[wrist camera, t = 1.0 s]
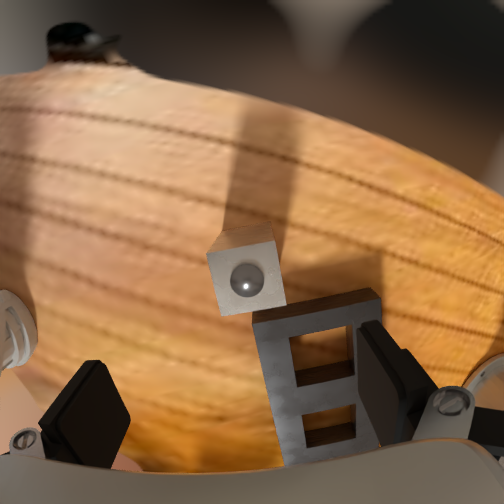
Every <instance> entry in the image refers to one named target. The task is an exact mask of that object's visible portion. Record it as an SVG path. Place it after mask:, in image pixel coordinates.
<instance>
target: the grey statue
mask: <svg viewBox="0 0 504 504" xmlns="http://www.w3.org/2000/svg"><path fill="white" fill-rule="evenodd" d="M36 345H37V329H36V326H35V323H34V320H33V318H32V316H31V314H30V312H29V310H28V308H27V307H26V306H25V304H24V303H23V302H22V301H21V300H20V299H19V298H18V297H17V296H16V295H15V294H13V293H12V292H10V291H7V290H5V289H4V290H0V375H1V371H3V370H4V369H5V368H13V367H14V366H20V365H23V364H25V363H26V362H27V361H28V359H29V358H30V357H31V356H32V354H33V352H34V350H35V348H36Z"/></svg>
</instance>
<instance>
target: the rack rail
mask: <svg viewBox="0 0 504 504" xmlns="http://www.w3.org/2000/svg"><path fill="white" fill-rule="evenodd" d="M376 319H377V320H378V321H379V322H380V323H381V324H382V312H381V298H380V297H379V296H378V295H377V294H376V292H375V291H374V290H373V289H372V288H371V287H370V288H366V289H361V290H357V291H352V292H347V293H343V294H338V295H333V296H328V297H323V298H318V299H313V300H308V301H303V302H298V303H293V304H287V305H285V306H280V307H274V308H269V309H263V310H257V311H253V313H252V326H253V331H254V335H255V340H256V344H257V349H258V353H259V358H260V362H261V366H262V371H263V375H264V380H265V384H266V388H267V393H268V397H269V401H270V406H271V410H272V414H273V419H274V423H275V427H276V431H277V436H278V440H279V444H280V448H281V452H282V456H283V461H284V465H285V466H290V465H296V464H302V463H308V462H314V461H320V460H325V459H330V458H335V457H340V456H344V455H349V454H353V453H358V452H362V451H367V450H371V449H375V448H378V447H379V440H378V438H377V435H376V433H375V431H374V428H373V426H372V424H371V421H370V419H369V417H368V415H367V412H366V410H365V408H364V405H363V403H362V401H361V399H360V396H359V393H358V370H357V337H356V330H357V328H360V327H361V324H362V323H363V322H368V321H372V320H376ZM343 326H346V337H347V350H348V360H346V361H342V362H338V363H333V364H328V365H324V366H319V367H314V368H309V369H304V370H298V371H294V367H293V361H292V355H291V349H290V343H289V337H294V336H299V335H304V334H309V333H314V332H319V331H324V330H329V329H334V328H338V327H343ZM347 405H350V409H351V422H349V423H345V424H341V425H336V426H332V427H327V428H322V429H317V430H312V431H306V432H304V428H303V422H302V415H304V414H309V413H314V412H319V411H324V410H329V409H334V408H338V407H343V406H347Z"/></svg>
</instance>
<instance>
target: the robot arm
mask: <svg viewBox="0 0 504 504" xmlns="http://www.w3.org/2000/svg"><path fill="white" fill-rule="evenodd" d="M356 337H357V370H358V393H359V396H360V399H361V401H362V403H363V405H364V408H365V410H366V412H367V415H368V417H369V419H370V421H371V424H372V426H373V428H374V431H375V433H376V435H377V438H378V440H379V442H380V445H381V447H379V448H375V449H371V450H367V451H362V452H358V453H353V454H349V455H344V456H340V457H335V458H330V459H325V460H320V461H314V462H308V463H302V464H296V465H290V466H283V467H275V468H267V469H258V470H247V471H234V472H216V473H157V472H139V471H126V470H116V469H111V467H112V464H113V462H114V460H115V457H116V455H117V452H118V450H119V448H120V445H121V443H122V441H123V438H124V436H125V434H126V432H127V429H128V427H129V425H130V421H131V419H130V415H129V413H128V411H127V409H126V407H125V405H124V403H123V401H122V399H121V397H120V395H119V392H118V390H117V388H116V386H115V384H114V382H113V380H112V377H111V375H110V373H109V371H108V369H107V366H106V365H105V364H104V363H102V362H101V361H100V360H87V361H85V362H84V363H83V365H82V366H81V367H80V368H79V370H78V371H77V372H76V373H75V375H74V376H73V377H72V379H71V380H70V381H69V382H68V384H67V385H66V386H65V388H64V389H63V390H62V391H61V393H60V394H59V395H58V397H57V398H56V399H55V401H54V402H53V403H52V405H51V406H50V407H49V409H48V410H47V411H46V413H45V414H44V415H43V417H42V418H41V419H40V421H39V422H38V424H39V425H40V427H41V429H42V431H41V433H40V432H39V431H38V430H37V429H35V428H25V429H22V430H20V431H18V432H17V433H16V434H14V436H13V437H12V438H11V440H10V444H9V448H10V451H9V452H7V453H5V454H2V455H0V504H504V353H502V354H498V355H496V356H494V357H492V358H490V359H489V360H487V361H486V362H484V363H483V364H482V365H481V366H480V367H479V368H478V369H477V370H476V371H475V372H474V373H473V374H472V375H471V376H470V377H469V378H468V380H467V381H466V383H465V384H464V385H463V387H459V386H446V387H442V388H440V389H439V388H438V387H437V386H436V384H435V383H434V382H433V381H432V379H431V378H430V377H429V375H428V374H427V373H426V372H425V370H424V369H423V368H422V367H421V365H420V364H419V363H418V361H417V360H416V359H415V358H414V356H413V355H412V354H411V353H410V351H409V350H407V349H400V347H399V346H398V345H397V343H396V342H395V341H394V340H393V338H392V337H391V336H390V334H389V333H388V332H387V331H386V329H385V328H384V327H383V326H382V324H381V323H380V322H379V321H378V320H377V319H376V320H372V321H368V322H363V323H362V324H361V327H360V328H357V330H356Z"/></svg>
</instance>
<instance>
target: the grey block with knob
mask: <svg viewBox="0 0 504 504" xmlns="http://www.w3.org/2000/svg"><path fill="white" fill-rule="evenodd" d="M206 255H207V259H208V264H209V268H210V272H211V276H212V280H213V284H214V289H215V293H216V297H217V301H218V305H219V309H220V313H221V316H227V315H233V314H240V313H246V312H252V311H257V310H263V309H269V308H274V307H280V306H285V305H286V299H285V293H284V288H283V282H282V276H281V271H280V265H279V260H278V254H277V249H276V243H275V239H274V235H273V231H272V227H271V223H270V222H265V223H260V224H255V225H250V226H244V227H239V228H234V229H229V230H224V231H221V233H220V234H219V236H218V237H217V239H216V240H215V241H214V243H213V244H212V246H211V247H210V249H209V250H208V252H207V253H206Z"/></svg>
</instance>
